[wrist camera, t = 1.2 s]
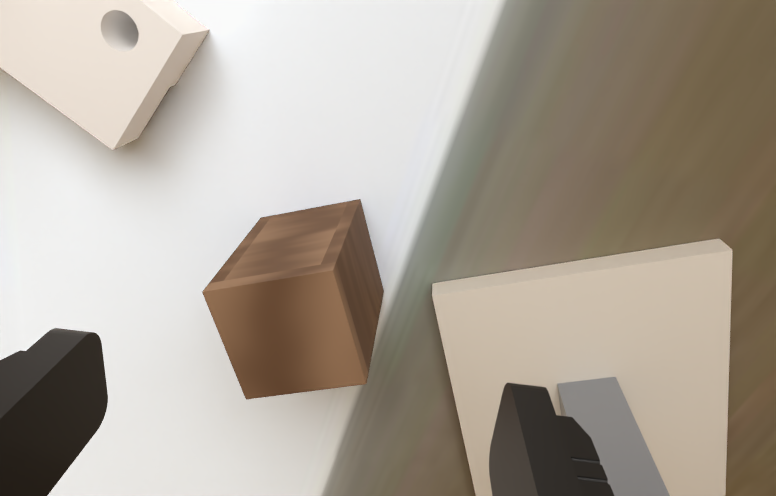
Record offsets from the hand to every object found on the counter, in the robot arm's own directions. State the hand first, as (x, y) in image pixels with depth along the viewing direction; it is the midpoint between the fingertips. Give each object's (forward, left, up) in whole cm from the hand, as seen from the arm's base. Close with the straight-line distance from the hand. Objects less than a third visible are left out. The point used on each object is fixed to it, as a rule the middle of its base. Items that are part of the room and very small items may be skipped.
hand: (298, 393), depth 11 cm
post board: (-9, +18, -21) cm, 29 cm away
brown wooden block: (+5, +6, -21) cm, 22 cm away
